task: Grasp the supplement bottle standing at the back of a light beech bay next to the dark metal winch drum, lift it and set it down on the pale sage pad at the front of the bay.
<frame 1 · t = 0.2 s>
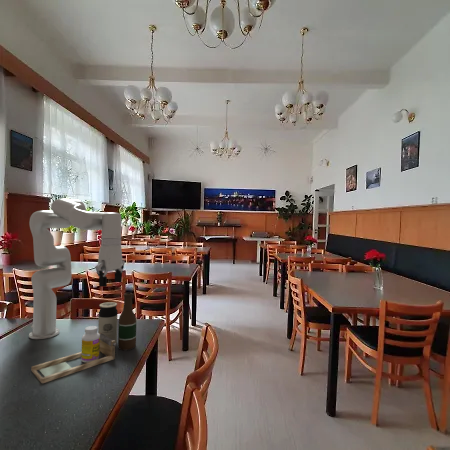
hand: (110, 284, 122), 30 cm above the table, tool pointing down, fingers open, 9 cm apart
travel mug: (107, 344, 135), on the table
bay: (74, 364, 115), on the table
supplement bottle: (90, 360, 120), resting in bay
beer bottle: (126, 347, 132), on the table
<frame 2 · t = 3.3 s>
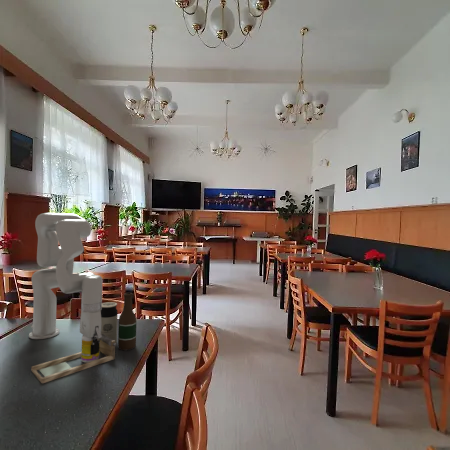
hand: (90, 350, 119), 4 cm above the table, tool pointing down, fingers closed on supplement bottle, 6 cm apart
supplement bottle: (90, 360, 120), resting in bay, touching gripper
everything else where it was.
when the fingers open (5 cm above the table, at t = 8.4 s): supplement bottle stays where it is, resting on bay.
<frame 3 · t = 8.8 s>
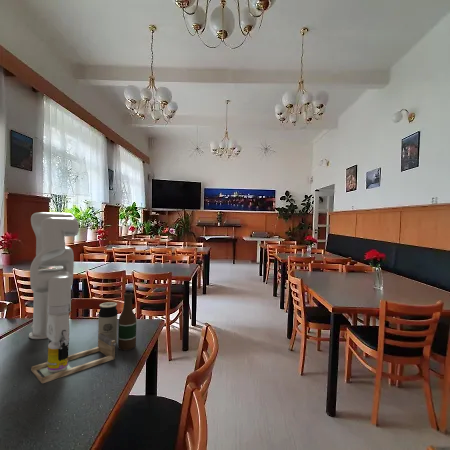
hand: (58, 354, 111), 6 cm above the table, tool pointing down, fingers open, 9 cm apart
supplement bottle: (57, 369, 111), resting on bay
everything else where it was.
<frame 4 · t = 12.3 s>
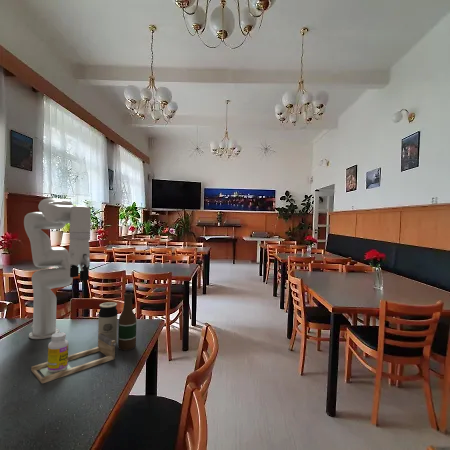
hand: (79, 278, 120), 32 cm above the table, tool pointing down, fingers open, 9 cm apart
nothing on the table moved.
at the end: supplement bottle inside the target area (0.3 cm from its centre), resting on bay; supplement bottle tilted 0°; supplement bottle moved 12.0 cm from its start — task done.
